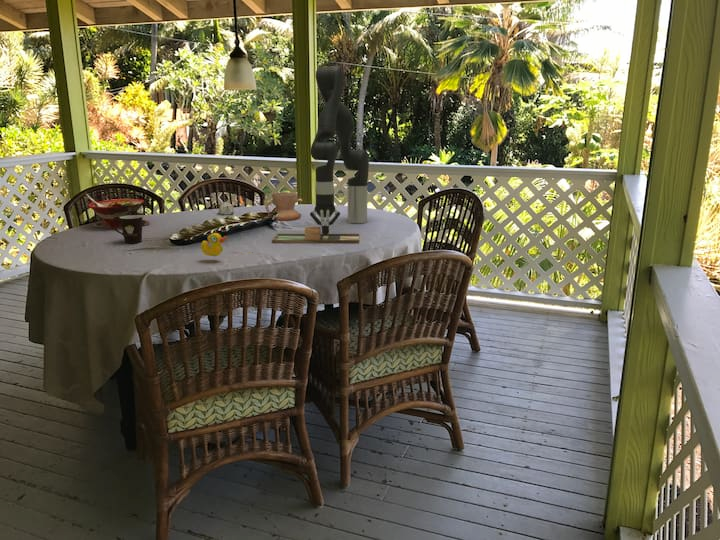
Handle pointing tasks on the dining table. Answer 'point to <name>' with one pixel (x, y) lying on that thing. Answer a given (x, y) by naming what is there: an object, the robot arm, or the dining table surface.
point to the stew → (115, 210)
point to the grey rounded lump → (226, 208)
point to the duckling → (213, 245)
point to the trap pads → (331, 238)
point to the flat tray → (301, 239)
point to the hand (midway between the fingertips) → (325, 234)
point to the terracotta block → (312, 233)
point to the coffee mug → (130, 228)
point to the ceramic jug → (285, 206)
